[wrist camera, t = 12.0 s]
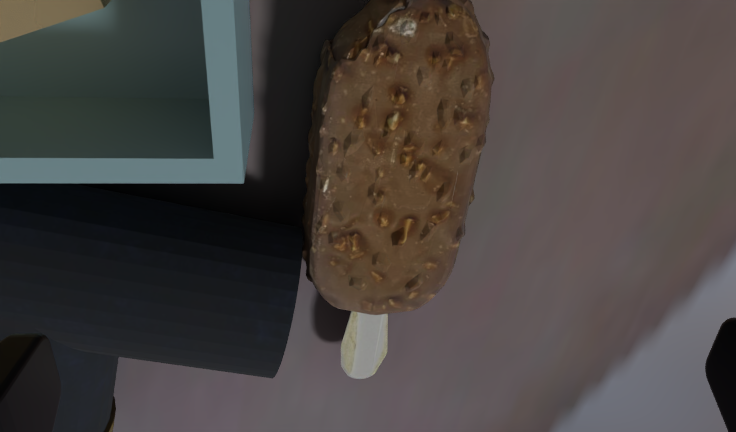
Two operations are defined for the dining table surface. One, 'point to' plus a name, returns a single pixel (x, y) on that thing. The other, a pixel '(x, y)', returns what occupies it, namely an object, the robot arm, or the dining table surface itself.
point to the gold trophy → (41, 14)
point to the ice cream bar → (393, 162)
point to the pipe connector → (141, 288)
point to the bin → (130, 96)
